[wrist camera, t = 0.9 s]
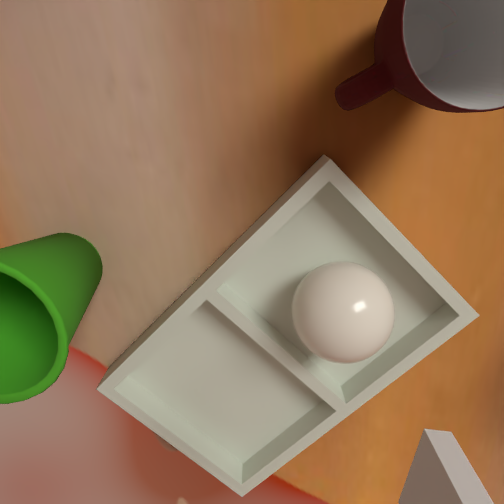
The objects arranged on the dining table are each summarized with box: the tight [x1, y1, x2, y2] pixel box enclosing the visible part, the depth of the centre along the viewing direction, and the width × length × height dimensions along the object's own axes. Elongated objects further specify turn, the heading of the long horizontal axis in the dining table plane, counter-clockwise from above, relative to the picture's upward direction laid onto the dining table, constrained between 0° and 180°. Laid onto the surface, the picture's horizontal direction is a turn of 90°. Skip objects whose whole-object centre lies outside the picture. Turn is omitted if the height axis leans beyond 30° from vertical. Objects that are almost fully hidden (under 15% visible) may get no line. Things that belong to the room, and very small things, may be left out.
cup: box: [0, 233, 102, 404], centre depth 27 cm, size 9×9×11 cm
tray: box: [96, 154, 480, 497], centre depth 33 cm, size 16×25×3 cm, turn 136°
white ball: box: [291, 261, 395, 364], centre depth 28 cm, size 7×7×7 cm
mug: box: [335, 0, 504, 113], centre depth 22 cm, size 10×8×10 cm
